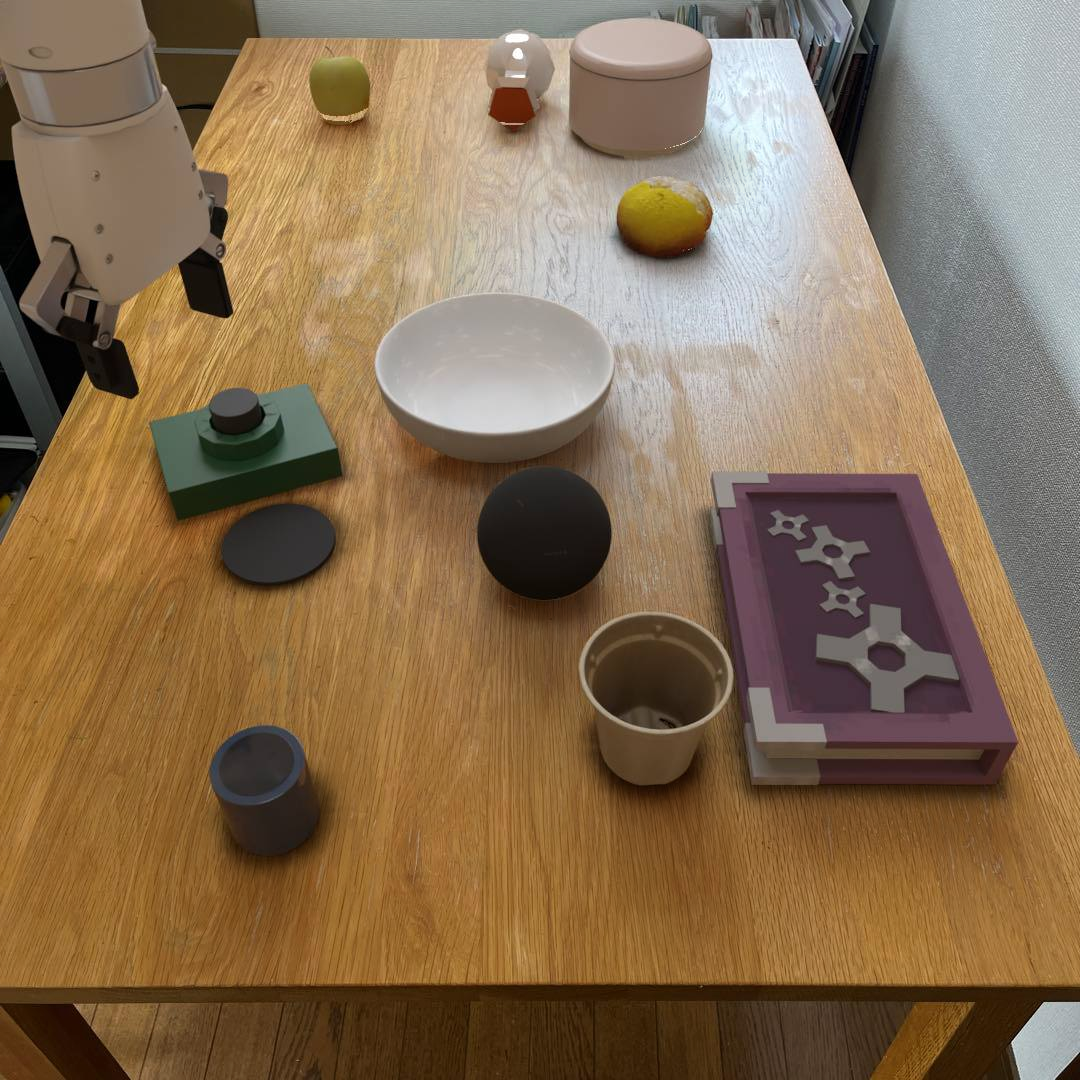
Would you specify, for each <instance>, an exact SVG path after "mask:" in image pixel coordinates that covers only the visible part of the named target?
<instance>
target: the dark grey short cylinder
mask: <svg viewBox="0 0 1080 1080" xmlns="http://www.w3.org/2000/svg"><path fill="white" fill-rule="evenodd" d="M256 394H257V393H256V392H254V391H253V390H251V389H249V388H245V387H231V388H227V389H223V390H221V391H219V392H217V393H216V394H214V395H213V396H212V397H211V398H210V400H209V403H208V404H209V410H210V413H211V417H212V420H213V424H214V427H215V429H216V430H217V431H218V432H220V433H221V434H224V435H235V436H236V435H240V434H244V433H248V432H251V431H253V430H254V429H256V428H257V427H258V426H259V425H260V424H261V422H262V413H261V409H260V405H259V400H258V397H257V395H256Z"/></svg>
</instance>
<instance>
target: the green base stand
mask: <svg viewBox="0 0 1080 1080" xmlns="http://www.w3.org/2000/svg"><path fill="white" fill-rule="evenodd" d="M255 394H256V395H257V397H258V400H259V405H260V409H261V413H262V422H261V424H260V425H259V426H258V427H257V428H256V429H254V430H253V431H251V432H248V433H244V434H240V435H236V436H235V435H224V434H221V433H220V432H218V431H217V430H216V429H215V427H214V424H213V420H212V417H211V413H210V410H209V403H208V404H206V405H205V406H203V407H201V408H200V409H195V410H191V411H187V412H183V413H179V414H175V415H171V416H167V417H163V418H159V419H158V418H157V419H154V420H150V421H149V422H148V425H149V427H150V431H151V435H152V436H151V437H152V439H153V443H154V446H155V450H156V454H157V458H158V461H159V465H160V468H161V473H162V476H163V479H164V484H165V487H166V490H167V494H168V497H169V500H170V503H171V505H172V509H173V512H174V514H175V517H176V521H178V522H180V521H183V520H187V519H191V518H195V517H199V516H202V515H206V514H209V513H213V512H217V511H220V510H224V509H227V508H232V507H235V506H238V505H242V504H246V503H249V502H253V501H257V500H260V499H264V498H267V497H268V498H269V497H271V496H275V495H279V494H283V493H287V492H289V491H290V492H291V491H293V490H296V489H300V488H305V487H308V486H312V485H314V484H315V485H316V484H318V483H323V482H326V481H329V480H334V479H336V478H341V477H343V476H344V475H343V470H342V464H341V458H340V453H339V448H338V445H337V443H336V441H335V439H334V437H333V435H332V433H331V430H330V428H329V426H328V423H327V422H326V419H325V417H324V415H323V413H322V411H321V409H320V406H319V404H318V402H317V399H316V398H315V396H314V394H313V392H312V389H311V387H310V384H309V383H308V382H305V383H302V384H297V385H293V386H288V387H285V388H281V389H277V390H273V391H269V392H264V393H255Z"/></svg>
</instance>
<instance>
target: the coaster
mask: <svg viewBox="0 0 1080 1080" xmlns="http://www.w3.org/2000/svg"><path fill="white" fill-rule="evenodd" d="M336 539H337V538H336V531H335V528H334V525H333V523H332V521H331V520H330V519H329V517H328V516H326V515H325V514H324V513H323V512H321V511H320V510H319V509H317V508H314V507H312V506H309V505H305V504H301V503H291V502H289V503H288V502H286V503H274V504H269V505H266V506H263V507H259V508H257V509H254V510H252V511H250V512H248V513H246V514H245V515H243V516H242V517H240V518H239V519H238V520H236V521H234V523H233V524H232V525H231V526H230V527H229V529H228V530H227V531H226V533H225V535H224V536H223V539H222V542H221V546H220V554H221V559H222V562H223V565H224V566H225V568H226V569H227V570H228V572H229V573H230V574H231V575H232V576H233V577H235V578H237V579H238V580H241V581H242V582H245V583H247V584H251V585H254V586H262V587H263V586H264V587H273V586H282V585H287V584H291V583H295V582H298V581H301V580H303V579H304V578H307V577H309V576H311V575H313V574H314V573H315V572H317V571H318V570H319V569H321V568H322V567H323V566H324V565H325V564H326V563H327V561H328V560H329V559H330V557H331V556H332V554H333V552H334V549H335V546H336Z"/></svg>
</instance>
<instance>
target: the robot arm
mask: <svg viewBox="0 0 1080 1080" xmlns="http://www.w3.org/2000/svg"><path fill="white" fill-rule="evenodd" d="M144 11H145V10H144V7H143V4H142V0H0V63H1V66H2V68H3V71H4V74H5V77H6V80H7V83H8V85H9V89H10V90H11V94H12V96H13V100H14V103H15V105H16V108H17V112H18V114H19V117H20V120H19V121H17V123H14V124H13V125H12V126H11V141H12V151H13V158H14V164H15V170H16V175H17V181H18V186H19V191H20V195H21V199H22V203H23V206H24V212H25V214H26V218H27V221H28V225H29V229H30V232H31V233H30V234H31V236H32V239H33V243H34V245H35V249H36V252H37V255H38V258H39V261H40V263H39V265H38V268H37V269H36V270H35V272H34V275H33V276H32V278H31V280H30V281H29V283H28V284H27V286H26V288H25V290H24V291H23V293H22V295H21V297H20V299H19V302H18V303H19V304H18V306H19V309H20V310H21V312H23V313H24V314H25V315H26V316H27V317H28V318H29V319H31V320H32V321H33V322H35V323H36V324H37V325H38V326H40V327H41V328H42V330H43V332H45V333H47V334H49V335H53V336H55V337H59V338H62V339H65V340H68V341H72V342H75V345H76V347H77V350H78V354H79V355H80V359H81V360H82V363H83V366H84V369H85V371H86V374H87V377H88V379H89V382H90V383H91V385H92V386H93V387H94V388H95V389H96V390H98V391H102V392H105V393H108V394H112V395H114V396H118V397H121V398H124V399H128V400H133V399H134V398H136V397H137V396H138V395H139V394H140V387H139V384H138V381H137V379H136V375H135V373H134V369H133V366H132V364H131V360H130V357H129V354H128V351H127V348H126V344H125V343H124V342H123V341H122V340H121V339H118V338H115V337H114V336H115V332H116V327H117V323H118V322H117V321H118V318H119V314H120V309H121V305H122V304H125V303H126V302H128V301H129V300H131V299H132V298H134V297H135V296H137V295H138V294H139V293H141V292H142V291H143V290H145V289H146V288H148V287H149V286H150V285H152V284H154V283H155V282H156V281H157V280H159V279H160V278H161V277H163V276H164V275H165V274H167V273H168V272H170V271H171V270H172V269H173V268H174V267H176V266H177V265H178V270H179V273H180V277H181V280H182V284H183V287H184V291H185V295H186V298H187V299H186V300H187V302H188V306H189V307H190V309H191V310H192V311H194V312H198V313H202V314H205V315H210V316H212V317H217V318H221V319H229V318H230V317H231V316H232V315H233V314H234V308H233V304H232V299H231V296H230V295H231V294H230V291H229V286H228V282H227V279H226V278H227V277H226V275H225V271H224V265H223V262H221V261H222V260H223V259H224V258H225V256H226V255H227V245H226V243H225V242H224V241H223V239H224V235H225V231H226V227H227V224H228V220H229V212H228V211H227V209H226V208H225V206H227V205H228V204H227V203H228V191H229V177H228V175H227V173H223V172H218V171H214V170H210V169H204V168H203V169H202V168H199V167H198V164H197V160H196V158H195V154H194V151H193V149H192V144H191V142H190V140H189V136H188V134H187V131H186V129H185V126H184V124H183V121H182V118H181V116H180V113H179V111H178V109H177V107H176V105H175V102H174V101H173V98H172V96H171V94H170V92H169V90H168V87H167V86H166V85H164V84H163V82H162V79H161V75H160V72H159V68H158V63H157V59H156V55H155V50H156V49H157V40H156V38H155V35H154V34H153V32H152V31H151V30H150V29H149V28H148V23H147V20H146V16H145V12H144ZM64 293H67V297H66V301H65V307H62V305H61V304H62V303H61V300H62V297H63V295H64ZM90 301H94V302H97V307H96V311H95V316H94V320H93V324H92V323H89V322H86V319H87V314H88V310H89V304H90Z"/></svg>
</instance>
